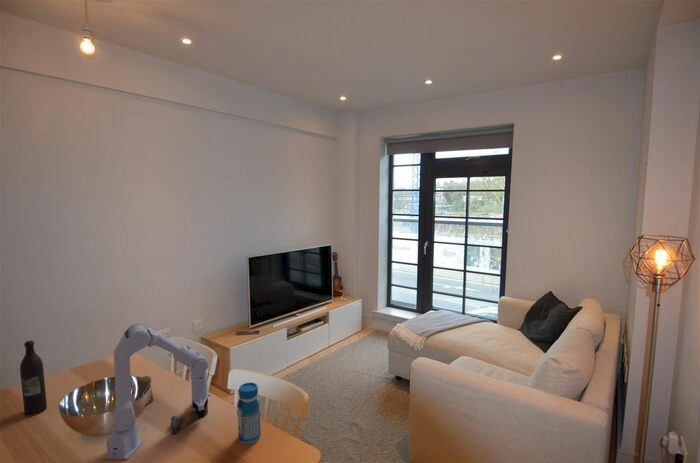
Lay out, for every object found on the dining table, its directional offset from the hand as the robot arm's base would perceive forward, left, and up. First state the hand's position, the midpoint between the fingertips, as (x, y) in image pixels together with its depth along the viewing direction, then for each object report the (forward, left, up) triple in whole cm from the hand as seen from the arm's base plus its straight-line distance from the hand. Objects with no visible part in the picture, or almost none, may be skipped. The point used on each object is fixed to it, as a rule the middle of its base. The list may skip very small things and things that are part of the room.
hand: (201, 417), depth 145 cm
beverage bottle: (-8, -22, -2) cm, 24 cm away
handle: (-1, +3, -1) cm, 3 cm away
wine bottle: (+3, +71, -2) cm, 71 cm away
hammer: (+3, +8, -2) cm, 8 cm away
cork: (+12, +30, -2) cm, 32 cm away
